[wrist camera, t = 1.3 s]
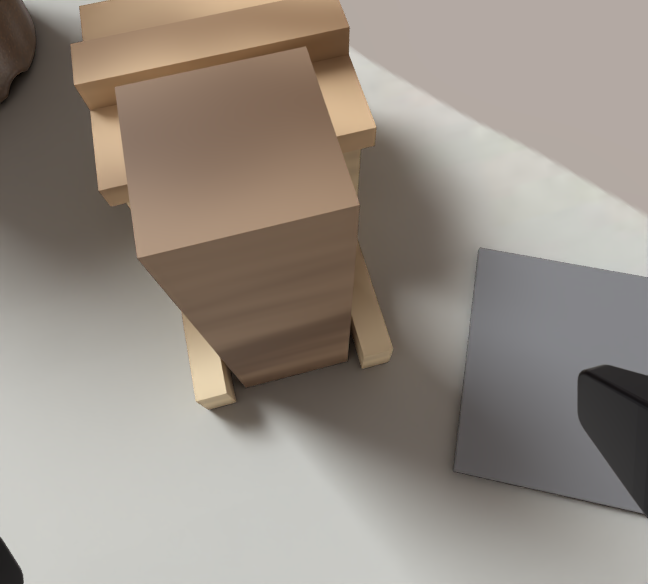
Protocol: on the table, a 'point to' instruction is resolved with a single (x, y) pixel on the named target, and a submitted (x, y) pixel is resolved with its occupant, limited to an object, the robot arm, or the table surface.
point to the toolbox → (210, 50)
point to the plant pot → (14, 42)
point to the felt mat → (545, 371)
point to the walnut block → (245, 210)
